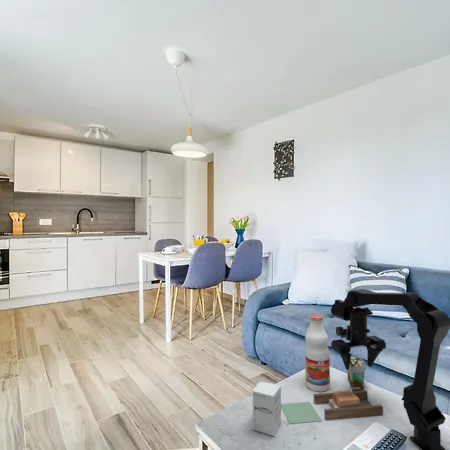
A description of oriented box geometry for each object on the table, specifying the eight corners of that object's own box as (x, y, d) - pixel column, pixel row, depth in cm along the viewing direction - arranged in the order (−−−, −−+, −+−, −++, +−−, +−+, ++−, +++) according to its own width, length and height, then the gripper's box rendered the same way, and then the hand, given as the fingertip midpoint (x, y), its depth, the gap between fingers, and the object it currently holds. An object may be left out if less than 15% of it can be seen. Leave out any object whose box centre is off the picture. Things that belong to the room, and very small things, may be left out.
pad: (322, 421, 100) (322, 420, 100) (289, 423, 99) (289, 423, 99) (309, 402, 111) (309, 401, 111) (280, 404, 110) (280, 403, 110)
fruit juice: (326, 380, 126) (325, 313, 127) (332, 392, 117) (331, 319, 117) (303, 379, 127) (302, 312, 128) (308, 391, 118) (306, 319, 118)
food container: (370, 394, 115) (370, 368, 115) (353, 393, 116) (352, 367, 116) (362, 378, 127) (362, 354, 127) (347, 377, 128) (346, 353, 128)
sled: (360, 412, 103) (360, 400, 103) (338, 414, 103) (337, 401, 103) (350, 400, 110) (349, 389, 110) (329, 402, 110) (328, 390, 110)
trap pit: (379, 412, 104) (379, 412, 104) (361, 414, 103) (361, 413, 103) (367, 400, 111) (367, 400, 111) (350, 401, 111) (350, 401, 111)
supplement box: (252, 430, 96) (251, 390, 96) (260, 417, 103) (260, 379, 103) (274, 437, 93) (273, 396, 93) (282, 423, 99) (281, 384, 99)
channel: (383, 415, 102) (382, 406, 102) (326, 420, 100) (325, 411, 101) (365, 398, 113) (365, 390, 113) (313, 402, 111) (313, 394, 111)
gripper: (365, 315, 119) (365, 355, 119) (322, 319, 114) (322, 360, 115) (386, 325, 108) (386, 369, 108) (340, 330, 103) (340, 375, 104)
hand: (358, 368), depth 109 cm, fingers open, 9 cm apart
